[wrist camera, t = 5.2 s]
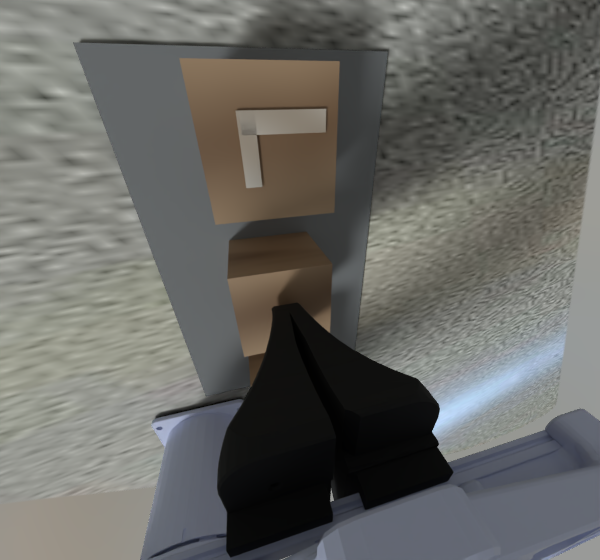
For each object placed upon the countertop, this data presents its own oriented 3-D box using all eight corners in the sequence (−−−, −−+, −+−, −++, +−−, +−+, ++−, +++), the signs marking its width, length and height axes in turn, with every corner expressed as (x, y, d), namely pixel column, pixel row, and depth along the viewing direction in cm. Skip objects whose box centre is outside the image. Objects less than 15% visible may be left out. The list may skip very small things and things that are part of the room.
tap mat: (352, 360, 24) (353, 362, 24) (206, 393, 22) (205, 396, 21) (384, 53, 13) (387, 51, 12) (77, 44, 10) (73, 42, 10)
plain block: (307, 294, 19) (329, 339, 14) (241, 305, 18) (244, 356, 13) (306, 231, 16) (332, 263, 12) (228, 240, 15) (227, 279, 11)
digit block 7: (307, 192, 15) (338, 213, 10) (220, 199, 14) (215, 225, 9) (305, 88, 12) (345, 60, 8) (199, 89, 11) (178, 56, 7)
